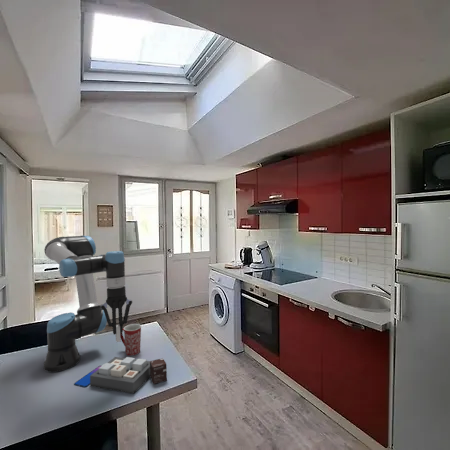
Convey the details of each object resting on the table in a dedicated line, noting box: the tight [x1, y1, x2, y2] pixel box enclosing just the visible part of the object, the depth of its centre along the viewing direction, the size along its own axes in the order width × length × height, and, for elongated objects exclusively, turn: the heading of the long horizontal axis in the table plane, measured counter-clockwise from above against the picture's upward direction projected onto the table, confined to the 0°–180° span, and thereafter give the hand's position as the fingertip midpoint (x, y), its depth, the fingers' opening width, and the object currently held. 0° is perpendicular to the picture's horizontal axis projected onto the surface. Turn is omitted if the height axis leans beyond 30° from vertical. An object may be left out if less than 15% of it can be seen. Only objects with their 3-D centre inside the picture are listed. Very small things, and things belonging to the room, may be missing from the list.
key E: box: [132, 358, 148, 372], centre depth 117 cm, size 4×4×3 cm
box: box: [149, 357, 168, 385], centre depth 115 cm, size 6×6×7 cm
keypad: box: [89, 356, 151, 395], centre depth 116 cm, size 21×16×4 cm
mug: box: [120, 323, 142, 357], centre depth 140 cm, size 13×9×14 cm
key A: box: [111, 359, 123, 366], centre depth 120 cm, size 4×4×3 cm
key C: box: [123, 370, 139, 379], centre depth 111 cm, size 4×4×3 cm
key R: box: [121, 356, 136, 370], centre depth 119 cm, size 4×4×3 cm
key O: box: [99, 362, 115, 375], centre depth 114 cm, size 4×4×3 cm
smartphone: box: [73, 365, 102, 388], centre depth 118 cm, size 7×1×15 cm
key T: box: [111, 365, 126, 377], centre depth 112 cm, size 4×4×3 cm
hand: (118, 340), depth 115 cm, fingers closed
